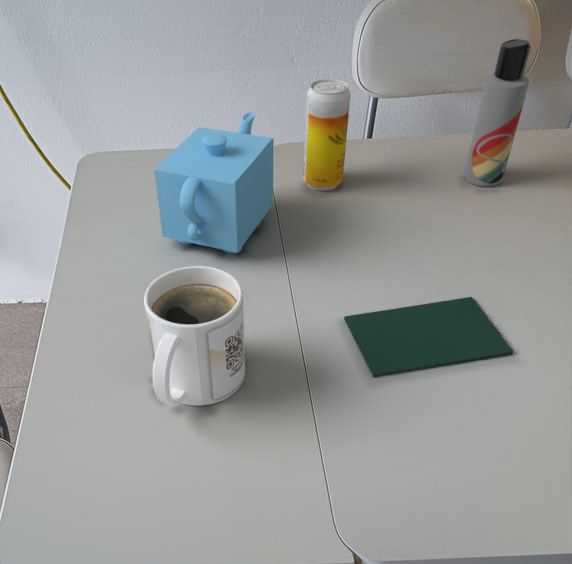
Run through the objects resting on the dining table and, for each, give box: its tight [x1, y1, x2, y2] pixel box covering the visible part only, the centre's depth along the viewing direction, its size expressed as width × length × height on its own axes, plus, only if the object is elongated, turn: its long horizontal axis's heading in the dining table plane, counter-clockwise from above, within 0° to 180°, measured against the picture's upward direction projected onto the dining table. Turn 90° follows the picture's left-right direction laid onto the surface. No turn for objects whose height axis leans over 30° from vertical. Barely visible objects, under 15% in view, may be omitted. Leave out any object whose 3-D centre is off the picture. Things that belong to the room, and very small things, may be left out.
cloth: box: [343, 296, 514, 378], centre depth 74 cm, size 16×10×1 cm, turn 100°
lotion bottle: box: [463, 38, 532, 188], centre depth 93 cm, size 6×6×20 cm
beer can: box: [302, 78, 351, 192], centre depth 96 cm, size 6×6×15 cm
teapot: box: [153, 111, 275, 255], centre depth 88 cm, size 22×11×14 cm, turn 156°
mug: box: [143, 265, 246, 407], centre depth 67 cm, size 10×12×11 cm
